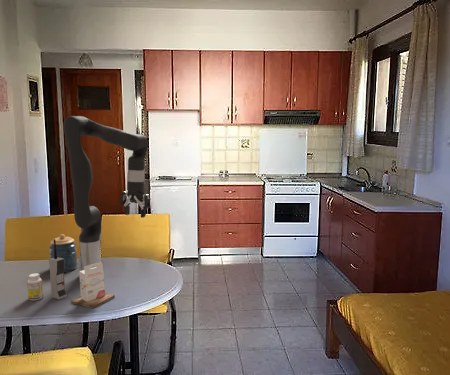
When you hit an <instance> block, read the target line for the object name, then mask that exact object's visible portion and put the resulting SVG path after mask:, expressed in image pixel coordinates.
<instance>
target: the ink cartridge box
mask: <svg viewBox="0 0 450 375" xmlns="http://www.w3.org/2000/svg"><path fill="white" fill-rule="evenodd" d="M93 266H97V267H94V268H91V267H93ZM104 271H105V270H104V265H103V261H101V262H99V263H95V264H91V265H88V266H84V270H83V271H78V272H79V288H80V289H79V290H80V296H81V299H83V300H85V301H90V300H93V299H96V298H99V297H103V296H105V293H106V287H105V274H104V273H105V272H104Z"/></svg>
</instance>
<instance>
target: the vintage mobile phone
mask: <svg viewBox="0 0 450 375" xmlns="http://www.w3.org/2000/svg"><path fill="white" fill-rule="evenodd" d="M53 239H54V255H55V257H54V258H52V259H50V258H49V260H48V261H49V264H48V265H49V278H50V291H51V292H50V294H51V299H52V298H53V299H56V300H58V301H59V300H63V299H65V298H67V297H68V296H67V295H68V294H67V292H66V288H65V286H66V285H65V272H64V258H59V257H57V252H56V242H55V238H53Z"/></svg>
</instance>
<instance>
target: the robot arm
mask: <svg viewBox="0 0 450 375" xmlns="http://www.w3.org/2000/svg"><path fill="white" fill-rule="evenodd" d="M63 132H64V137H65V141H66V145H67V151H68V158H69V165H70V168H69V169H70V175H71V182H72V190H73V191H72V192H73V207H74V208H73V215H74V221H75V224H76V225H77V226H78V227H79V228H80V229H82V231H81V233H80V234H79V236H78V238H79V239H78V240H79V241H78V242H79V256H78V267H79V271H83V270H84V266H88V265H91V264H95V263H99V262H102V261H101V260H102V258H101V257H102V256H101V240H100V238H101V237H100V236H101V233H102V215H101V211H100V209H98V207H96V206H95V205H90V201H89V200H90V199H89V197H90V191H91V188H92V184H93V176H94V175H93V168H92V164H91V161H90V159H89V158H88V156H87V154H86V152H85V151H84V149H83V145H82V140H81V139H82V138H81V137H86V136H87V137H95V138H97V139H101V140H102V141H104V142H106V143H108V144H111V145H114V146H118V147H122V149H125V150H128V151H132V154H131V155H130V156H129V158H128V160H127V174H126V190H125V191H121V195H120V196H121V198H120V205H123V207H124V214H125V215H126V216H128V215H130V214H131V207H130V206H131V204H132V203H134V204H137V205H138V206H139V207H140V208H141V209H140V218H146V215H147V214H146V213H147V209H150V208H151V195H150V194H144V191H145V159H146V156H147V152H148V148H149V147H148V145H149V144H148V138H147V137H146V136H145V135H144V134H141V133H140V134H133V133H130V132H129V133H128V132H126V131H125V130H123V129H119V128H115V127H111V126H107V125H103V124H100V123H98V122H96V121H93V120H92V119H89V118H87V117H85V116H82V115H77V116H76V115H70V116H66V117H65V119H64V121H63ZM94 267H97V266H93V267H91V268H94ZM79 271H78V272H79Z"/></svg>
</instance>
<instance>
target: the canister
mask: <svg viewBox="0 0 450 375" xmlns="http://www.w3.org/2000/svg"><path fill="white" fill-rule="evenodd" d="M54 239H55V242H56V252H57V257H59V258H64V273H66V272H71V271H73V270H76V269H77V268H78V266H79V261H78V255H77V252H78V251H77V248H76V246H77V245H78V244H77V243H76V242H75V239H74V238H72V237H71V236H66V235H65V234H64V233H61V234H60V235H59V236H58V237H54V238H53V239H52V240H51V241H50V242H49V243H50V245H48V249H49V253H48V254H49V259H52V258H54V257H55V255H54Z"/></svg>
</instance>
